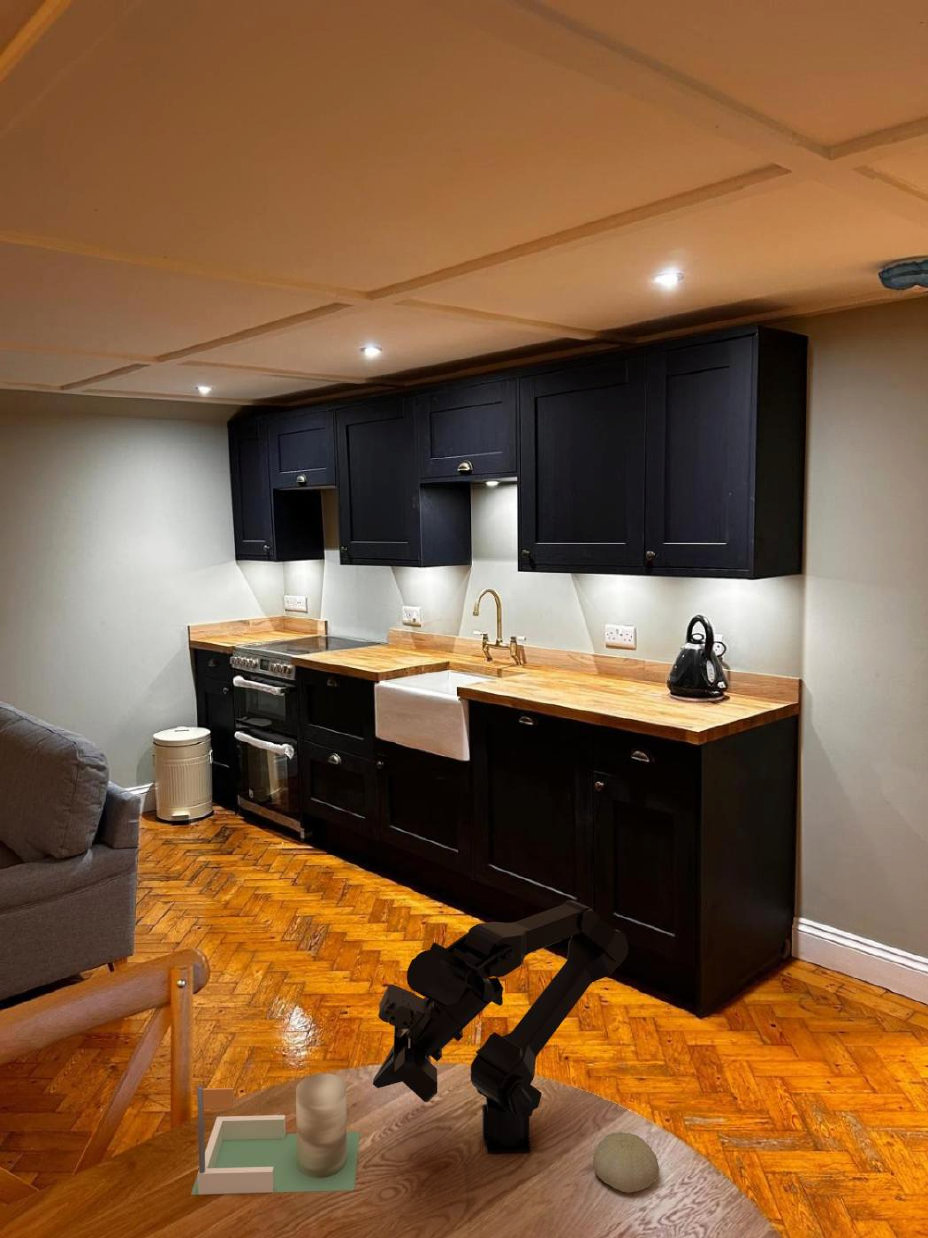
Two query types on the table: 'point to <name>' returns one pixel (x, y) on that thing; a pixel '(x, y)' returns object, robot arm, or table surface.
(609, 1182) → the sea urchin shell
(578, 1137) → the table surface
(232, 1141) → the putting mat
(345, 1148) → the birch cylinder
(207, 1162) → the white frame
